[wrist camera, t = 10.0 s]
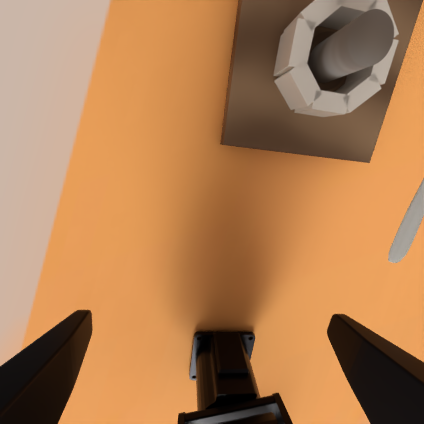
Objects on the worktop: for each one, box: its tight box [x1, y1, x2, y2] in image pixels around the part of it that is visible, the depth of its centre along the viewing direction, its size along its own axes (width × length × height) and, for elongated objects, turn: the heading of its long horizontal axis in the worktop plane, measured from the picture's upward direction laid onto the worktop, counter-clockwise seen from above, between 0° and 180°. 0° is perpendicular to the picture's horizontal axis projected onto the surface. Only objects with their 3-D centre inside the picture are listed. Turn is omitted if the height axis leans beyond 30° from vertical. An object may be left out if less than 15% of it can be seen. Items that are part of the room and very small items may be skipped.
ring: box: [273, 0, 399, 117], centre depth 14 cm, size 6×6×2 cm
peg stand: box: [220, 0, 423, 163], centre depth 14 cm, size 12×12×6 cm
